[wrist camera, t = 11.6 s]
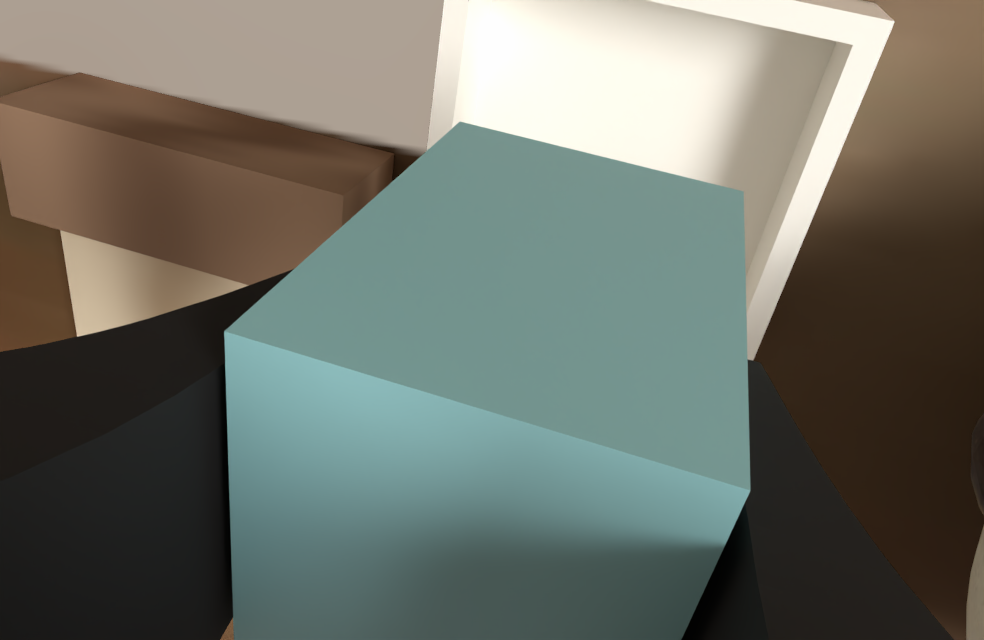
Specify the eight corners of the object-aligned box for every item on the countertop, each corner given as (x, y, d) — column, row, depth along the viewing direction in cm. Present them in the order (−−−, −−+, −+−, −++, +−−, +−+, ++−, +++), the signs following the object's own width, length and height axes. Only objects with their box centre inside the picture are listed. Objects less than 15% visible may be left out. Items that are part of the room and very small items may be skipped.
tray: (875, 3, 15) (895, 21, 13) (740, 340, 19) (741, 389, 17) (484, -78, 16) (452, -72, 14) (438, 256, 20) (409, 294, 19)
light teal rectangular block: (661, 420, 12) (610, 789, 7) (427, 352, 13) (234, 651, 8) (743, 191, 10) (750, 490, 5) (460, 121, 11) (224, 330, 6)
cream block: (356, 245, 22) (324, 276, 20) (340, 479, 26) (313, 520, 25) (105, 176, 23) (55, 200, 21) (133, 412, 28) (94, 447, 26)
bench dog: (394, 153, 19) (343, 195, 17) (384, 258, 21) (336, 310, 18) (79, 72, 21) (-12, 100, 18) (93, 177, 22) (11, 215, 20)
